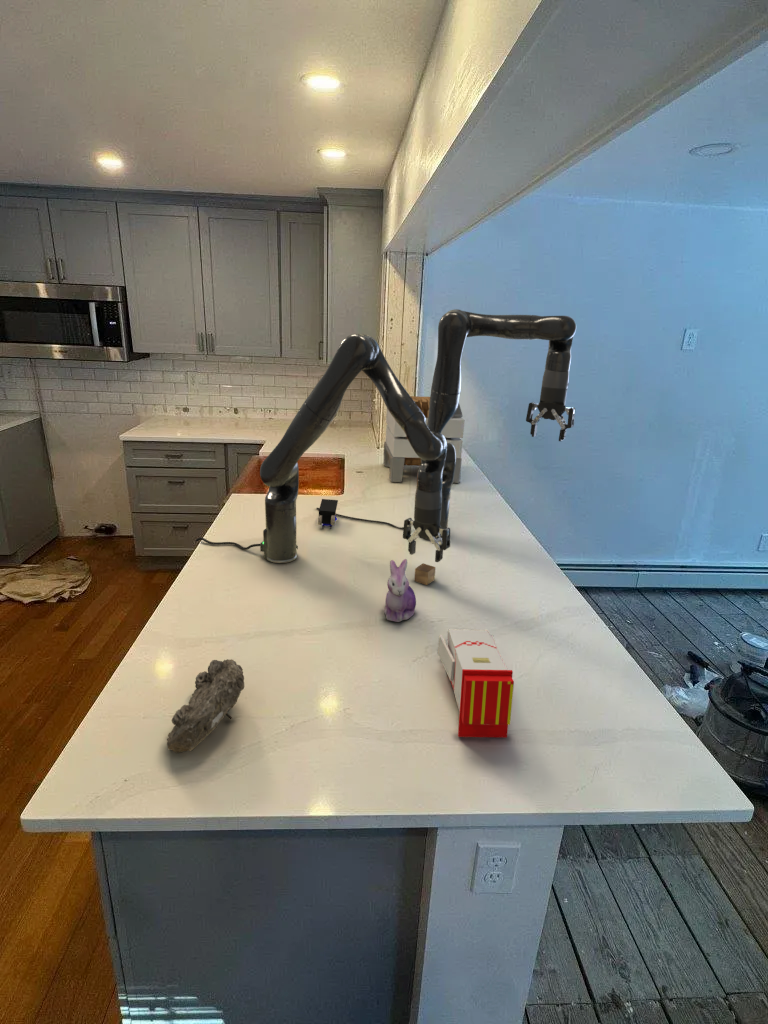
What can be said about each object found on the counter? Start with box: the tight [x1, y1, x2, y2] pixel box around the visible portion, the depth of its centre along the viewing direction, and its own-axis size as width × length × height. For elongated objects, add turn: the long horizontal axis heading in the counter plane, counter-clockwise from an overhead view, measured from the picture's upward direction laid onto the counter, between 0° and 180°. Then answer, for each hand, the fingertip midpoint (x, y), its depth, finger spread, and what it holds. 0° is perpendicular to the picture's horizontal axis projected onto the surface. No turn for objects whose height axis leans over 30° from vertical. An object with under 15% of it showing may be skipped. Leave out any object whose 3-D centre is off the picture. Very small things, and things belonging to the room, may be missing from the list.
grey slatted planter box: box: [383, 395, 465, 484], centre depth 268 cm, size 34×33×41 cm
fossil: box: [166, 658, 245, 754], centre depth 106 cm, size 22×10×15 cm
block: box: [413, 563, 436, 586], centre depth 166 cm, size 4×4×4 cm
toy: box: [437, 628, 515, 738], centre depth 117 cm, size 12×13×30 cm
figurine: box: [384, 558, 417, 623], centre depth 145 cm, size 9×10×15 cm
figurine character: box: [317, 498, 339, 530], centre depth 204 cm, size 7×8×15 cm
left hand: (425, 557), depth 163 cm, fingers open, 8 cm apart
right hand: (547, 438), depth 176 cm, fingers open, 8 cm apart
